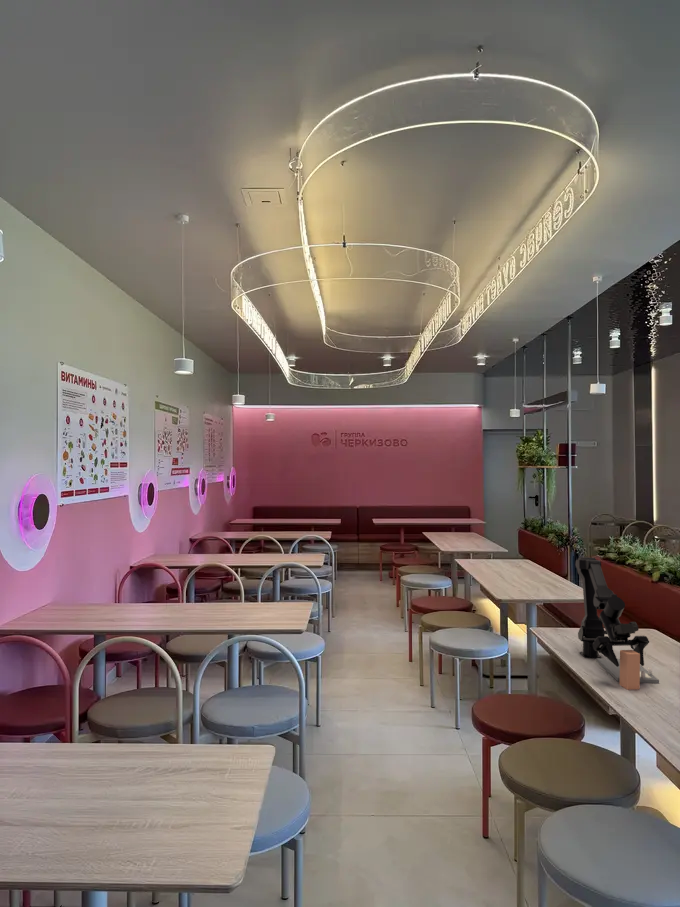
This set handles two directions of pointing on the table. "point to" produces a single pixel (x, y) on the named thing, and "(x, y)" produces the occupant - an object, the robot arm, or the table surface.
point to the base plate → (615, 671)
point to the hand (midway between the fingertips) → (630, 665)
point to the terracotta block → (629, 669)
